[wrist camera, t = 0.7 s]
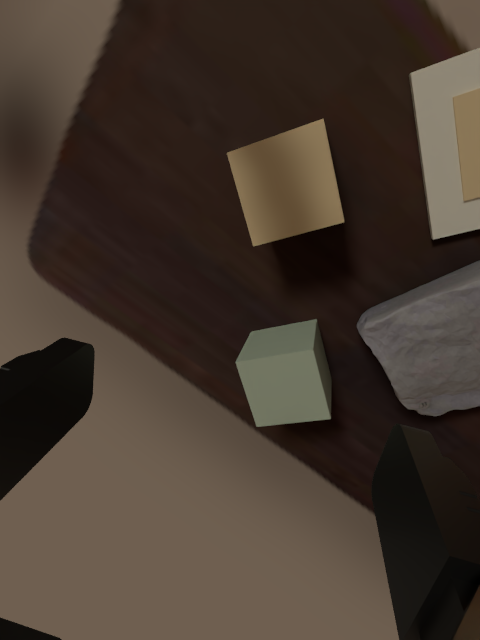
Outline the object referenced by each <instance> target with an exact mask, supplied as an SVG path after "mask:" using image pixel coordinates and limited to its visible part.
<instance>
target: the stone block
mask: <svg viewBox="0 0 480 640" xmlns="http://www.w3.org/2000/svg"><path fill="white" fill-rule="evenodd" d="M356 326H357V328H358V331H359V333H360V335H361V337H362V338H363V340H364V342H365V343H366V344H367V345H368V346H369V347H370V348H371V350H372V352H373V354H374V355H375V356H376V357H377V359H378V360H379V362H380V364H381V365H382V367H383V369H384V370H385V372H386V374H387V376H388V378H389V380H390V382H391V385H392V386H393V389H394V392H395V395H396V396H397V398H398V399H399V401H400V402H401V403H402V404H403V405H404V406H405V407H406V408H407V409H411V410H416V411H417V412H418V413H419V414H421V415H430V416H439V415H442V414H444V413H446V412H448V411H450V410H455V409H460V410H465V409H469V408H473V407H477V406H480V260H479V261H477V262H475V263H472V264H470V265H468V266H466V267H463V268H461V269H459V270H457V271H454V272H452V273H450V274H447V275H445V276H443V277H440V278H438V279H436V280H434V281H432V282H429V283H427V284H425V285H422V286H420V287H417V288H415V289H413V290H411V291H409V292H407V293H405V294H402V295H400V296H397V297H395V298H393V299H390V300H388V301H385V302H383V303H380V304H379V305H376V306H374V307H371V308H370V309H368V310H367V311H365V312H364V313H363V314H362V315H361V317H360V319H359V321H358V323H357V325H356Z"/></svg>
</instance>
